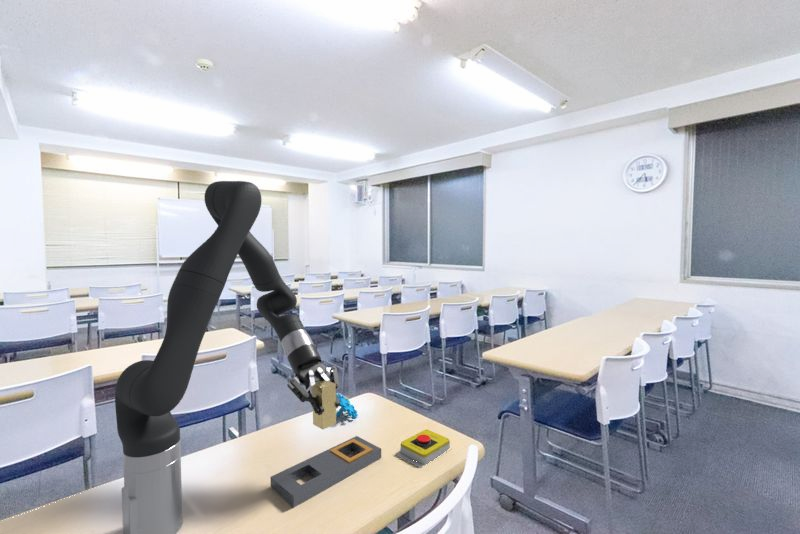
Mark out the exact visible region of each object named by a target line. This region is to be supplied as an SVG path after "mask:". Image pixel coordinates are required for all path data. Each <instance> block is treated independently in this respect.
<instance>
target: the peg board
mask: <svg viewBox="0 0 800 534" xmlns="http://www.w3.org/2000/svg"><path fill="white" fill-rule="evenodd" d="M352 453H353V454H355V455H353V456H352V457H349V456H348V455H350V454H352ZM381 459H382V448H381V447H379V446H378V445H375V444H374V443H371V442H369V441H367V440H366V439H365V438H364V439H363V438H362V437H360V436H357V435H355V436H354V437H352V438H349V439H348V440H345V441H343V442H340V443H338V444H337V445H335V446H333V447H330V448H328V449H326V450H324V451H322V452H319V453H318V454H316V455H314V456H312V457H309V458H308V459H305V460H303V461H301V462H299V463H296V464H295V465H293V466H290V467H288V468H287V469H283V470H282V471H280V472H278V473H276V474H273V475H271V476H270V488H271V489H272V490H273V491H274V492H275V493H276V494H278V496H280V497H281V498H282V499H283V500H284V501H285V502H287V503H288V504H289V505H290V506H291V507H292V508H297V506H299V505H301V504H302V503H304V502H306V501H308V500H309V499H312V498H313V497H316V496H317V495H319V494H320V493H322V492H324V491H326V490H327V489H330V488H331V487H333V486H335V485H336V484H339V483H340V482H341V481H343V480H345V479H347V478H348V477H350V476H352V475H354V474H356V473H358V472H359V471H361V470H362V469H364V468H366V467H368V466H369V465H371V464H373V463H375V462H377V461H379V460H381ZM308 475H309V476H310V477H311V478H312V479H311V478H310V479H309V480H308V481H305V482H304V483H302V484H301V483H299V482H298V481H299V480H301V479H303V478H304V477H306V476H308Z"/></svg>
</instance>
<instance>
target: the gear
mask: <svg viewBox="0 0 800 534" xmlns="http://www.w3.org/2000/svg"><path fill="white" fill-rule="evenodd" d="M336 394H337V396H338V398H339V400H340V405H339V407H340V408H339V410H338V411H337V412H336V419H337V418H339V416H340V415H341V414H342V413H343V412H344V413H346V412H347V416H349V417H352V418H353V419H356V418H357V417H358V416H359V414H358V411H357V409H356V408H355V406H354V405H353V404H352V403H351V401H350V400H349V398H348V397H347V398H346V396H344V395H341V393H336Z"/></svg>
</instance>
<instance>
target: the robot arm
mask: <svg viewBox="0 0 800 534" xmlns="http://www.w3.org/2000/svg"><path fill="white" fill-rule="evenodd" d="M204 203H205V204H204V205H205V206H206V209H207V212H209V214H210V216H211V218H212V219H213V220H214V222H215V223H216V224H217V227H216V229H215V230H214V231H213V233H212V234H211V235H210V236H209V238H207V239H206V240H205V241H204V242H202V244H200V245H199V246H198V247H197V248H196V249H195V250H194V251H193V252H192V253H191V254H190V255H188V257H187V258H186V259H185V260H184V262H182V264H181V266H180V268H179V270H178V272H177V273H176V276H175V279H173V282H172V285H171V287H170V289H169V293H168V296H167V305H166V306H167V307H166V308H167V309H166V327H165V334H164V336H163V340H162V342H161V345H160V347H159V349H158V351H157V353H156V355H155V357H154V359H153V360H151V359H149V360H148V359H143V360H139V361H137V362H134V363H131V364H130V365H129V366H127V367H126V368H125V369H124V370H123V371H122V372H121V374H120V375H119V377H118V378H117V382H116V385H115V391H114V404H115V405H114V406H115V419H116V429H117V434H118V437H119V439H120V441H121V444H122V454H123V455H122V457H123V483H124V484H123V487H122V488H121V505H122V506H121V508H122V534H176V533H177V532H178V531H179V530H180V529H181V527H182V524H183V514H184V513H183V496H182V495H183V493H182V457H181V456H182V455H181V454H182V452H181V427H180V424H179V423H178V421H177V420H176V419H175V418H174V416H173V415H172V412H171V411H172V410H174V409H175V408H176V407H177V406H178V405H179V404H180V402H181V401H182V399H183V398H184V396H185V394H186V391H187V389H188V386H189V383H190V381H191V377H192V373H193V370H194V366H195V362H196V359H197V356H198V353H199V350H200V347H201V344H202V341H203V339H204V336H205V334H206V331H207V329H208V326H209V323H210V322H211V319H212V315H213V313H214V311H215V309H216V306H217V304H218V303H219V300H220V298H221V295H222V293H223V290H224V288H225V286H226V283H227V280H228V278H229V274H230V273H231V271H232V268H233V267H234V266H233V265H234V263H235V261H236V258H238V257H237V256H239V258H240V260H241V262H242V264H243V265H244V267H245V268H246V271H247V273H248V275H249V277H250V280H251V282H252V284H253V286H254V288H255V289H256V291H258V292H263V293H265V294H263V295H260V296H259V297H258V298H257V301H256V309H257V311H258V313H259V314H260V316H262V317H263V318H264V319H265V320H266V322H268V323H269V324H270V326H271V327H272V328H273V330H274V331H275V333H276V335H277V337H278V340H279V341H280V344H281V347H282V350H283V352H284V355H285V357H286V359H287V361H288V363H289V365H290V368H291V370H292V372H293V373H294V374H295V376H294V377H292V378H290V380H289V381H288V382H287V387H288V388H289V390H290V391H291V393H293V394H294V395H295V396H296V398H297V399H298V400H299V401H300V402H301V403H305V402H309V403H310V405H311V407H312V410H313V409H314V411H315V413H316V414H318V415H321V414H322V413H323V412H324V408H323V407H322V405H321V403H320V401H319V399H318V397H316V396H317V395H316V392H315V390H314V384H315V383H318V382H321V381H324V380H325V381H326V380H327V381H330V382H332V383H335V384H336V390H337V389H338V388H339V387H340V384H341V383H340V380H339V374H338V369H337V366H336V365H333V366H331V367H327V366H326V365H325V364H324V363H323V362H322V357H321V355H320V353H319V352H318V350H317V347H316V346H315V344H314V342H313V340H312V338H311V335H310V334H309V333H308V332H307V330H306V328H305V327H304V324H303V323H302V320H301V319H300V317H299V316H298V315H297V314H294V313H292V314H291V313H290V314H286V313H287V312H290V311H292V310H293V309H295V308H296V305H297V302H298V301H297V300H298V299H297V297H296V295H295V292H293V290H292V289H291V288H290V287H289V286H288V284H286V283H285V281H284V280H283V278H282V277H281V275H280V272H279V270H278V267H277V265H276V264H275V263H276V262H275V261H274V259H273V257H272V255H271V253H270V252H269V251H268V249H267V248H266V247H265V246H263V244H262V243H261V242H260V240H258V239H257V238H256V237H255V236H254V235H253V234H252V233H251V229H252V227H254V223H255V222H256V221H257V218H258V216H259V215H260V211H261V208H262V194H261V191H260V189H259V187H258V186H257V185H256V184H255V183H253V182H250V181H246V180H237V181H236V180H219V181H214V182H211V183H210V184H209V185H208V186H207V188H206V190H205V192H204ZM266 292H267V293H266ZM284 314H285V315H284ZM303 386H304V387H303ZM337 394H338V393H336V409H338V408H339V407H340V406H339V405H340V400H339V398H338V396H337Z"/></svg>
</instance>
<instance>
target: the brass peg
mask: <svg viewBox="0 0 800 534" xmlns="http://www.w3.org/2000/svg"><path fill="white" fill-rule="evenodd" d="M314 390H315V392H316V395H317V396H316V397H318V399H319V401H320V403H321V405H322V407H323V408H324V412H323V413H322V414H321V415H318V414H316V413H315V411H314V409H313V408H312V425H314V426H315V427H317V428H318V429H321V430H325V429H328V428H330V427H332V426H334V425H336V424H337V418H336V414H337V408H336V394H337V393H336V391H337V389H336V384H335V383H332V382H330V381H327V380H326V381H325V380H324V381H321V382H318V383H315V384H314Z"/></svg>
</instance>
